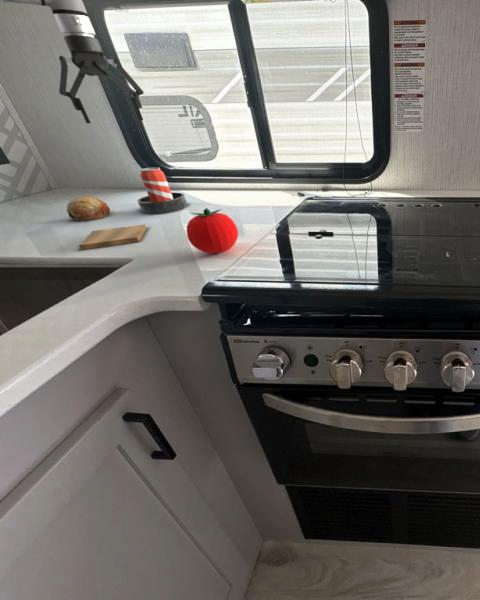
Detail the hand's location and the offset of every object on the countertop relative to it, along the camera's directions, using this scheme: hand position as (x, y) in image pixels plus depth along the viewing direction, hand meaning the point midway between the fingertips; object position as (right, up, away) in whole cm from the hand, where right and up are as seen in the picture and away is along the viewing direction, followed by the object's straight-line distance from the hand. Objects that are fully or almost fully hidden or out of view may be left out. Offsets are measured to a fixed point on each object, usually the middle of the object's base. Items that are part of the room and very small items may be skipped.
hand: (115, 121), depth 104 cm
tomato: (+47, -45, -25) cm, 70 cm away
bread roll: (-7, -30, 0) cm, 31 cm away
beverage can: (+11, -25, +7) cm, 28 cm away
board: (+15, -40, -17) cm, 46 cm away
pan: (+11, -25, +7) cm, 28 cm away
